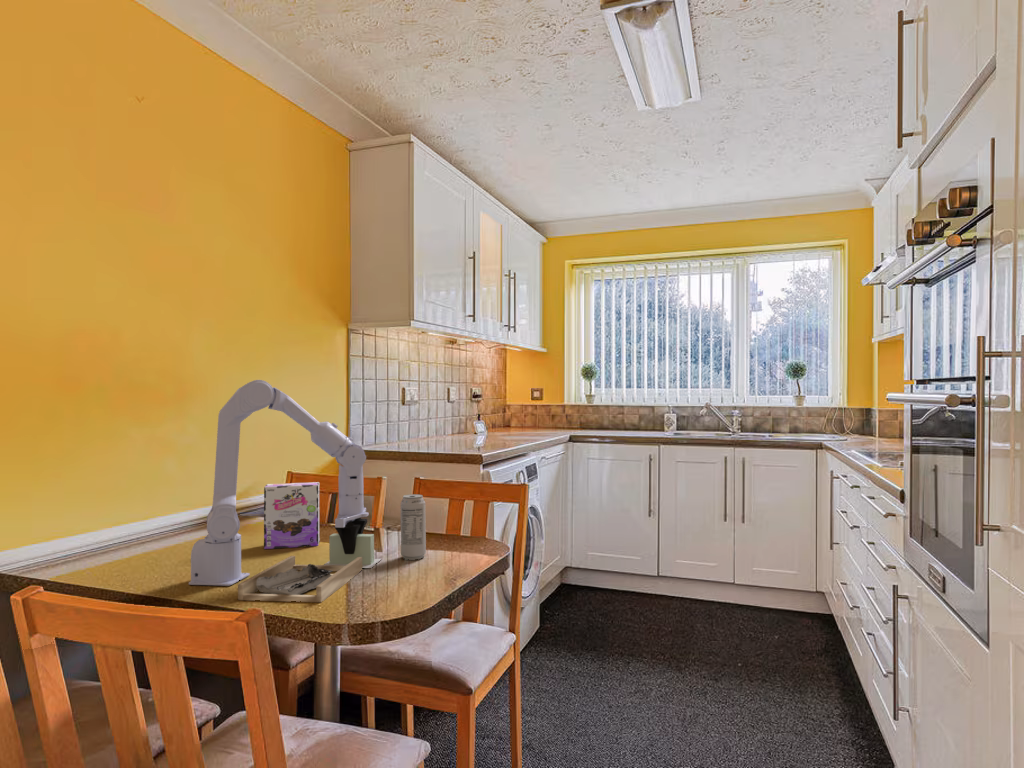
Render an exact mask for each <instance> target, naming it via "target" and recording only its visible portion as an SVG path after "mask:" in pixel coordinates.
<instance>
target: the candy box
mask: <svg viewBox="0 0 1024 768" xmlns="http://www.w3.org/2000/svg"><path fill="white" fill-rule="evenodd" d="M263 493H264V495H263V549H264V550H271V549H272V550H273V549H285V548H286V549H287V548H304V546H306V547H317V546H319V544H320V542H321V541H320V540H321V539H320V482H319V481H317V482H316V481H313V482H291V483H267V484H265V486H264V487H263Z"/></svg>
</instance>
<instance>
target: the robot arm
mask: <svg viewBox="0 0 1024 768" xmlns="http://www.w3.org/2000/svg"><path fill="white" fill-rule="evenodd" d="M266 408H268V410H269V409H270V410H273V411H278V412H281V413H283V414H285V415H286V416H287V417H289V418H290V419H292V420H293V421H294V422H296V423H297V424H298V425H300V426H301V427H302V428H304V429H305V430H306V431H308V432H309V433H310V441H311V442H312V443H314V444H315V445H316V446H317V447H318V448H320V449H321V450H322V451H324V452H325V453H327V454H328V455H329V456H330V457H331V458H335V461H336V462H337V463H338V477H337V478H338V513H337V516H336V518H335V519H334V529H335V530H336V532H337V534H339V536H340V538H341V542H342V545H343V549H344V553H345V554H354V552H355V546H356V538H357V534H364V533H363V532H364V530H365V528H366V526H367V524H368V519H367V518H364V517H368V516H369V512H367V507H365V506H364V502H365V501H364V464H365V463H366V460H367V455H366V452H365V449H363V447H362V446H360V445H359V444H356V443H354V442H353V440H354V438H352V437H351V436H347V435H345V434H344V433H343V432H342V431H341V430H339V429H338V424H336V423H334V422H332V423H331V422H329V421H321V422H320V421H319V420H318V419H316V418H315V417H314V416H313V415H311V413H309V412H308V410H306V409H304V407H302V405H300V404H299V403H297V401H295V399H293V398H292V397H291V396H290V395H288V394H286V393H285V392H284V391H281V390H280V389H278V388H277V387H273V386H272V385H271V384H270V383H269V382H267V381H266V380H262V379H255V380H251V381H249V382H247V383H246V384H244V385H242V386H241V387H239V388H238V389H237V390H236V391H235V392H234V394H232V396H231V397H230V398H229V399H228V401H226V402H225V404H224V405H223V406H222V408H221V409H220V410H219V413H218V415H217V416H218V418H217V421H218V422H217V433H216V451H215V462H214V463H215V464H214V465H215V466H214V477H213V478H214V480H213V481H214V482H213V494H212V495H213V496H212V506H211V509H210V511H209V512H208V514H207V516H206V531H207V535H205V536H204V538H202V539H198V540H197V541H195V543H194V544H193V545H192V548H191V552H190V553H191V554H190V581H188V585H191V586H223V587H224V586H226V587H228V586H231V585H234V584H235V583H237V582H239V580H240V581H241V580H244V579H245V578H247V577H249V576H250V572H242V534H240V533H238V532H239V530H240V527H241V526H240V525H241V523H240V519H239V517H238V513H237V489H238V488H237V487H238V486H237V485H238V484H237V483H238V472H239V471H238V468H239V467H238V466H239V455H240V454H239V453H240V437H241V436H240V435H241V423H242V422H243V421H245V420H246V419H247V418H248V417H250V416H251V415H252V414H253V413H256V412H258V411H260V410H262V409H266Z"/></svg>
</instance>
